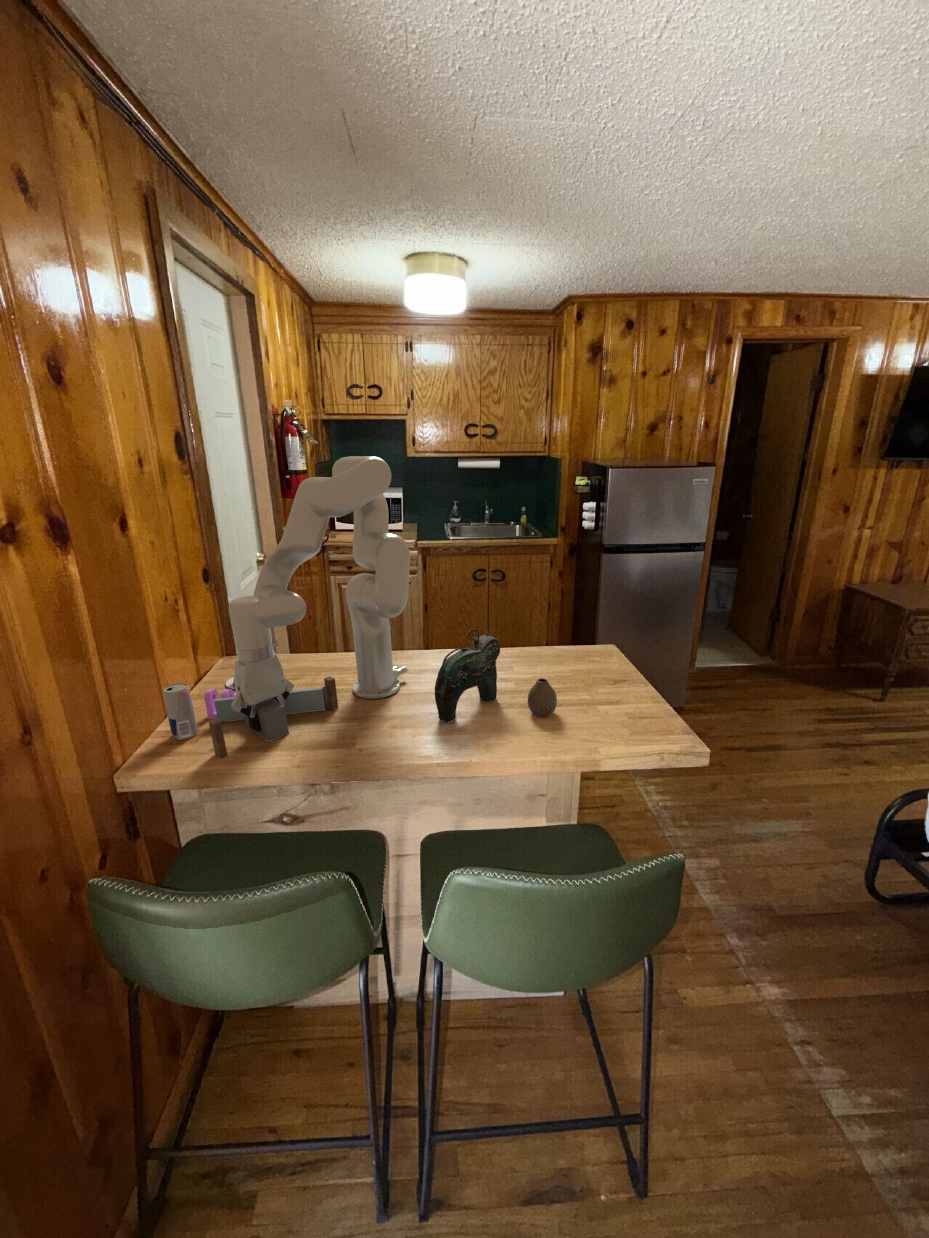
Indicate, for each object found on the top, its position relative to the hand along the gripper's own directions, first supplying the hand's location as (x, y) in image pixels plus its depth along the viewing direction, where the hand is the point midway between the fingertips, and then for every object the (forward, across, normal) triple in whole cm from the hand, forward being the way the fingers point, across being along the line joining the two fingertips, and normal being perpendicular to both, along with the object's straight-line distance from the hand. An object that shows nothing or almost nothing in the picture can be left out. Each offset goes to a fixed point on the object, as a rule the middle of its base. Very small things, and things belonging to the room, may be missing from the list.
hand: (268, 724), depth 125 cm
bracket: (+2, 0, -20) cm, 20 cm away
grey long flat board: (+2, -5, -6) cm, 8 cm away
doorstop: (+2, 0, -1) cm, 2 cm away
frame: (+2, -2, +1) cm, 3 cm away
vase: (+3, -47, +43) cm, 64 cm away
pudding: (+3, -10, -31) cm, 33 cm away
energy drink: (+2, +14, -14) cm, 19 cm away
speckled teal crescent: (+3, -38, +28) cm, 48 cm away
